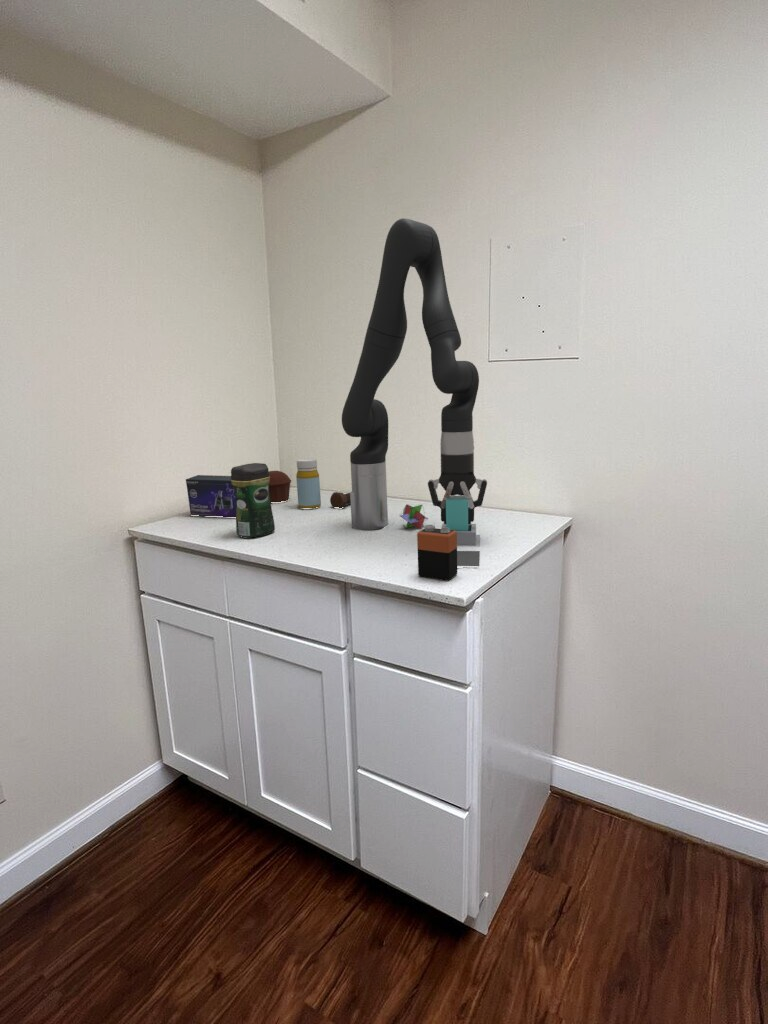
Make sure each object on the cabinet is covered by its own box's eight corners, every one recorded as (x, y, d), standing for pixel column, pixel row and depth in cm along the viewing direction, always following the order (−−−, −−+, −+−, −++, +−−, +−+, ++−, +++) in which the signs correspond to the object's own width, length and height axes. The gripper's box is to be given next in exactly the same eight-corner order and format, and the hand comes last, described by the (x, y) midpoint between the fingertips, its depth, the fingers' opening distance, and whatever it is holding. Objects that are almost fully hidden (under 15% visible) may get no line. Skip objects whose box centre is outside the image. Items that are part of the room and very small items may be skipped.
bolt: (367, 505, 190) (338, 513, 178) (357, 497, 192) (327, 504, 180) (374, 491, 187) (345, 498, 175) (363, 482, 189) (334, 488, 177)
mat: (430, 567, 119) (429, 564, 119) (434, 553, 129) (434, 550, 129) (479, 568, 117) (479, 565, 117) (479, 553, 127) (479, 551, 127)
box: (189, 517, 175) (184, 478, 172) (202, 512, 181) (198, 474, 178) (238, 519, 169) (234, 479, 167) (250, 514, 175) (246, 475, 173)
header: (435, 548, 132) (435, 533, 132) (439, 536, 142) (438, 522, 141) (479, 548, 131) (479, 533, 130) (480, 536, 140) (480, 522, 140)
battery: (427, 570, 117) (426, 522, 115) (458, 574, 114) (457, 525, 112) (417, 576, 114) (415, 527, 112) (449, 581, 110) (448, 531, 108)
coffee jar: (260, 528, 157) (254, 460, 153) (280, 532, 153) (274, 462, 149) (231, 536, 150) (224, 465, 146) (251, 540, 145) (244, 467, 141)
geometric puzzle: (438, 521, 148) (423, 494, 150) (420, 526, 144) (405, 499, 145) (421, 534, 153) (407, 508, 155) (404, 539, 148) (389, 513, 150)
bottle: (319, 509, 178) (316, 461, 174) (297, 510, 178) (293, 461, 175) (322, 504, 185) (319, 458, 181) (300, 505, 185) (297, 458, 181)
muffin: (275, 506, 186) (272, 475, 183) (250, 503, 192) (247, 473, 189) (299, 499, 195) (297, 469, 193) (275, 496, 201) (273, 468, 199)
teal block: (446, 542, 134) (445, 499, 132) (447, 536, 139) (447, 495, 137) (468, 542, 134) (467, 499, 131) (468, 536, 138) (468, 495, 136)
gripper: (424, 453, 129) (425, 527, 133) (489, 452, 127) (488, 527, 131) (427, 449, 137) (428, 519, 140) (488, 448, 134) (488, 519, 138)
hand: (457, 523), depth 136 cm, fingers closed on teal block, 5 cm apart
